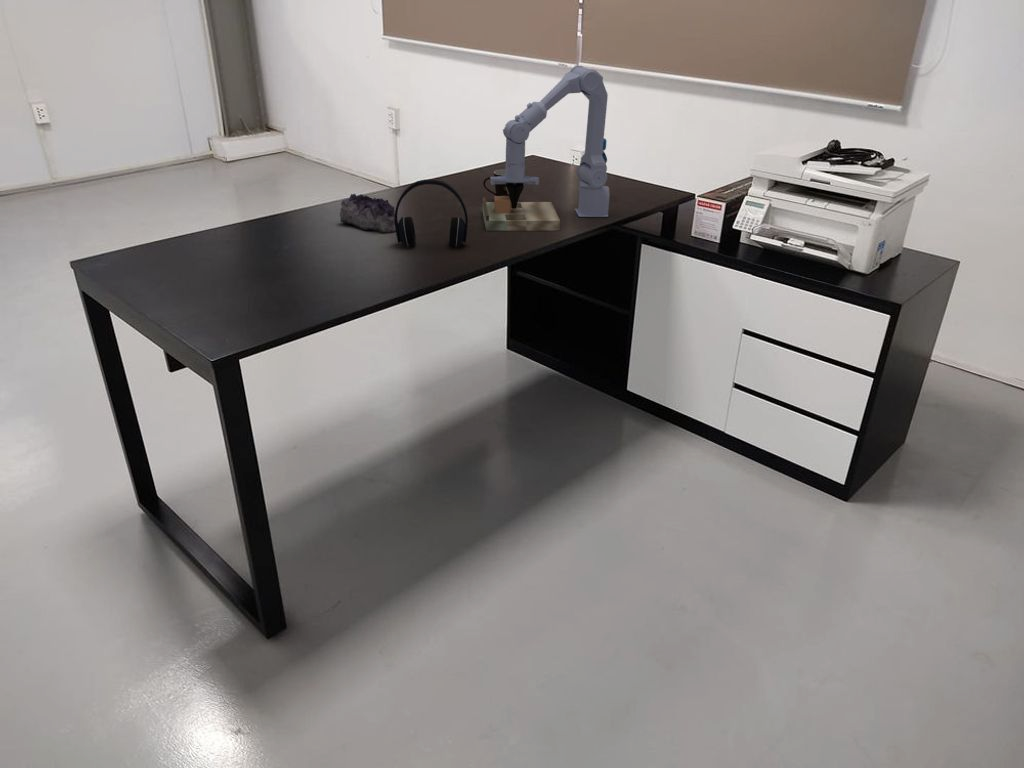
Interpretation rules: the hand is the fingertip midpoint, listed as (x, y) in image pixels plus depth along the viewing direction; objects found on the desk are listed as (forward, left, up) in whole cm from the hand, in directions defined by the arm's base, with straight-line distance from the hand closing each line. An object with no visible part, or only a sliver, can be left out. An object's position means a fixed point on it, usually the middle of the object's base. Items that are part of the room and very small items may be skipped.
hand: (513, 207), depth 236 cm
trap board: (-2, 0, -4) cm, 4 cm away
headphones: (+25, +23, -4) cm, 34 cm away
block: (+4, 0, -1) cm, 4 cm away
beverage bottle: (-29, -24, -4) cm, 38 cm away
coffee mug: (+2, -20, -4) cm, 21 cm away
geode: (+43, +4, -4) cm, 43 cm away
